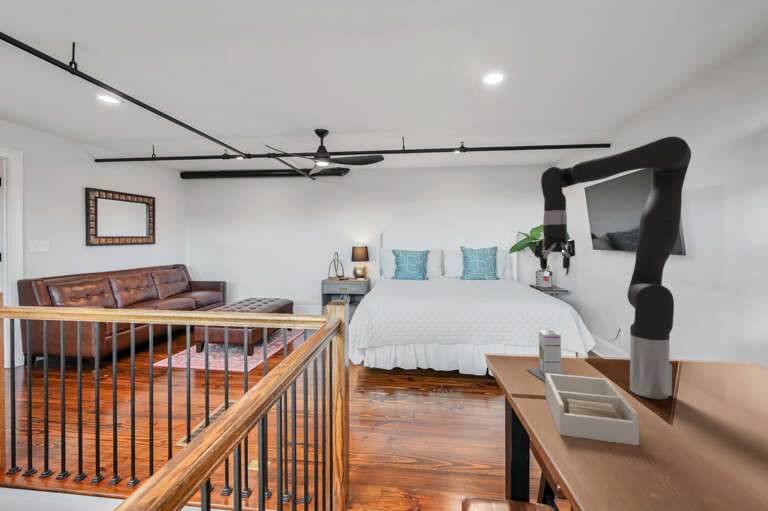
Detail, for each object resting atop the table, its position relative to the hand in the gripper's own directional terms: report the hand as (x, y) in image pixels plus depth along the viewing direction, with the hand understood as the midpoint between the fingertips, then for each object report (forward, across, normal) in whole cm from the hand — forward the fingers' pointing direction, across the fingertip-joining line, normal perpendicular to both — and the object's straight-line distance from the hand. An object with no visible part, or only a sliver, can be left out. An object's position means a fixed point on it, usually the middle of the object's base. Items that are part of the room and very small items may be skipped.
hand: (554, 268), depth 122 cm
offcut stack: (+36, +17, +39) cm, 56 cm away
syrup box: (+36, +6, +6) cm, 37 cm away
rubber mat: (+36, +6, +6) cm, 37 cm away
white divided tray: (+36, +15, +34) cm, 51 cm away
